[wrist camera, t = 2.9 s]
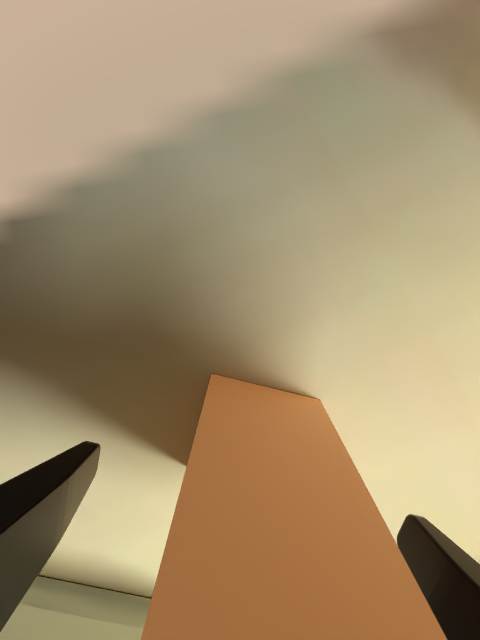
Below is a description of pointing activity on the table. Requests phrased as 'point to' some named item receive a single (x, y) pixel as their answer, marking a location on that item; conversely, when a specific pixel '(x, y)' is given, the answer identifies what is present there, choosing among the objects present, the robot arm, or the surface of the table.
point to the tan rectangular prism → (279, 533)
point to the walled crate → (75, 613)
